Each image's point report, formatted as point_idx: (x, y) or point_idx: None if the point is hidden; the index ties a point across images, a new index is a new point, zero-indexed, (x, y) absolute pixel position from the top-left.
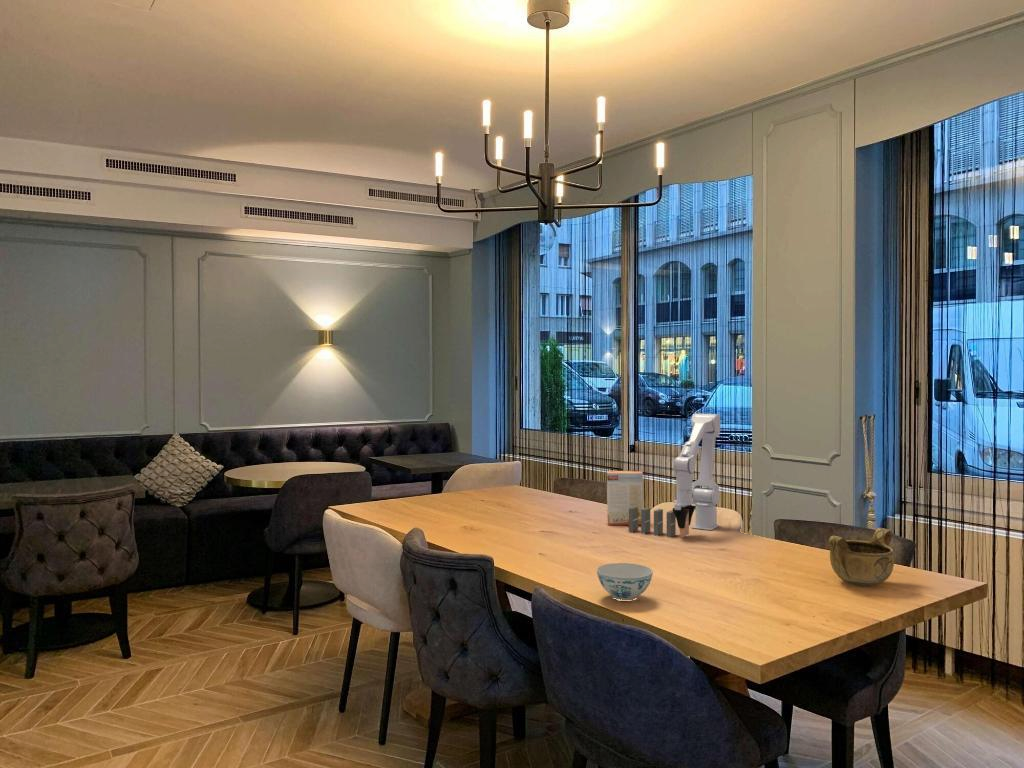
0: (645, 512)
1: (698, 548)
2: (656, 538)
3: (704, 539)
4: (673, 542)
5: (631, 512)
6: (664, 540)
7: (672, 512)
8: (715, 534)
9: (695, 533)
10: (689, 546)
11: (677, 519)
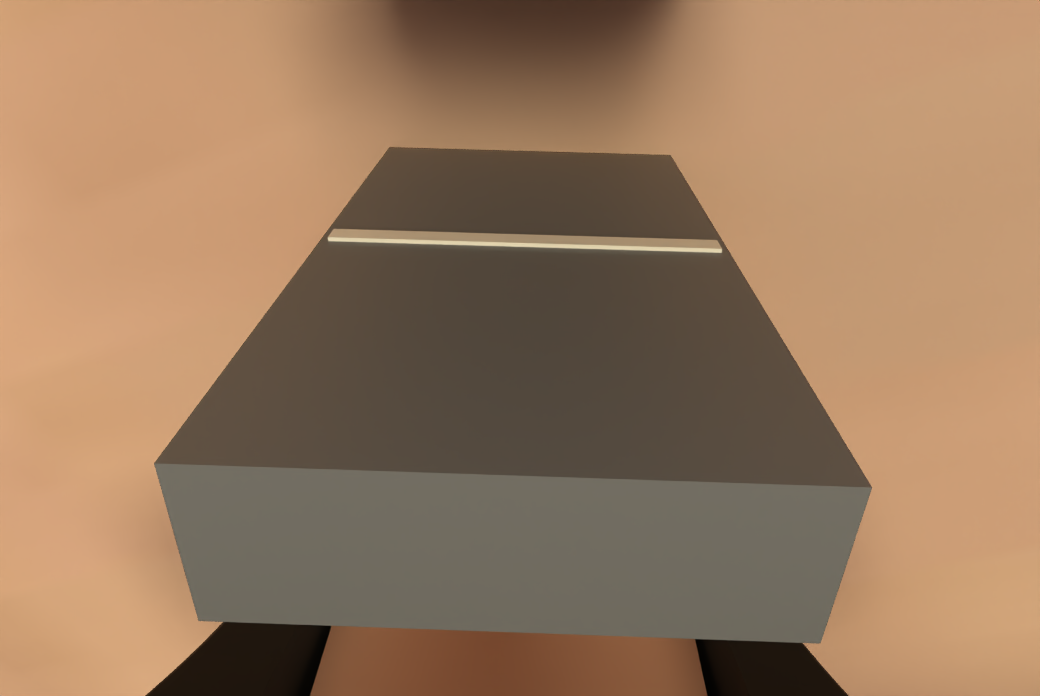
0: None
1: (37, 692)
2: (111, 9)
3: None
4: (72, 388)
5: None
6: (82, 218)
7: (416, 610)
8: (911, 681)
9: (898, 479)
10: (39, 606)
11: (218, 654)
